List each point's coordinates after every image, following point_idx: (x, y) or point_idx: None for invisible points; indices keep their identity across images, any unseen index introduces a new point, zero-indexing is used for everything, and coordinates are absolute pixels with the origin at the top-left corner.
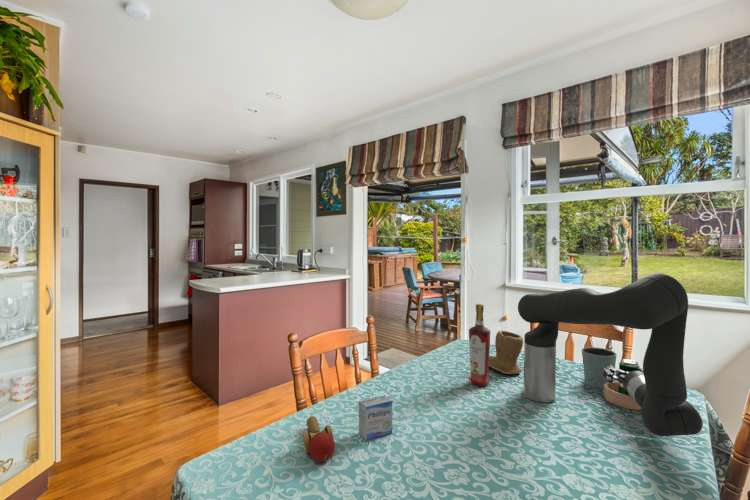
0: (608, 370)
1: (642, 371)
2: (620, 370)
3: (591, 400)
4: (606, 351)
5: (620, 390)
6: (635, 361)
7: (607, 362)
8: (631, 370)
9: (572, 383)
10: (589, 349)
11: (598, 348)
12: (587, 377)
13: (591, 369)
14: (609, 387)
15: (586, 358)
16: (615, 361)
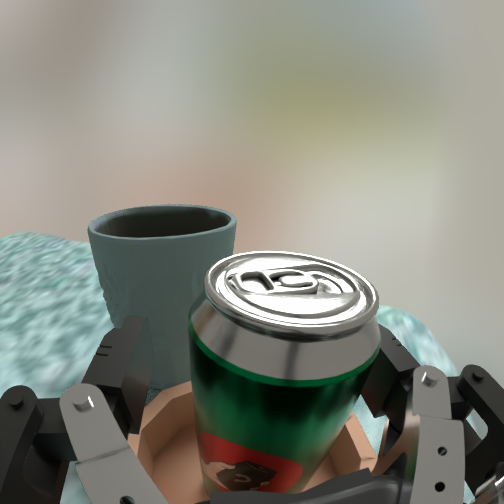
0: (5, 450)
1: (385, 362)
2: (117, 501)
3: (73, 495)
4: (207, 216)
5: (206, 480)
6: (344, 270)
7: (175, 275)
8: (302, 416)
9: (83, 357)
10: (147, 214)
11: (182, 207)
12: None
13: (114, 313)
14: (174, 415)
15: (94, 258)
16: None
